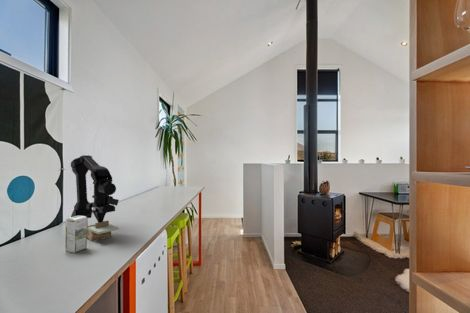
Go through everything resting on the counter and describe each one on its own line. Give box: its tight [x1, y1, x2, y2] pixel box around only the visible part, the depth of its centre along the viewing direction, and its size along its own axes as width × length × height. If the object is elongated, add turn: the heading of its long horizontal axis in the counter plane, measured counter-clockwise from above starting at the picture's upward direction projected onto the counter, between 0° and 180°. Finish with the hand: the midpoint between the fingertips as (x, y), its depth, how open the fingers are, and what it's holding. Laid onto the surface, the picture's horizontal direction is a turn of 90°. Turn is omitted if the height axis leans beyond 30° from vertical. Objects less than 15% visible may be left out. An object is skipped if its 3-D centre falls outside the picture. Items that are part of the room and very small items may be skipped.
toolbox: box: [87, 224, 112, 242], centre depth 122 cm, size 12×9×5 cm
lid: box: [87, 220, 120, 234], centre depth 118 cm, size 12×9×4 cm
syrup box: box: [64, 216, 88, 254], centre depth 105 cm, size 6×6×14 cm
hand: (100, 224), depth 120 cm, fingers closed
